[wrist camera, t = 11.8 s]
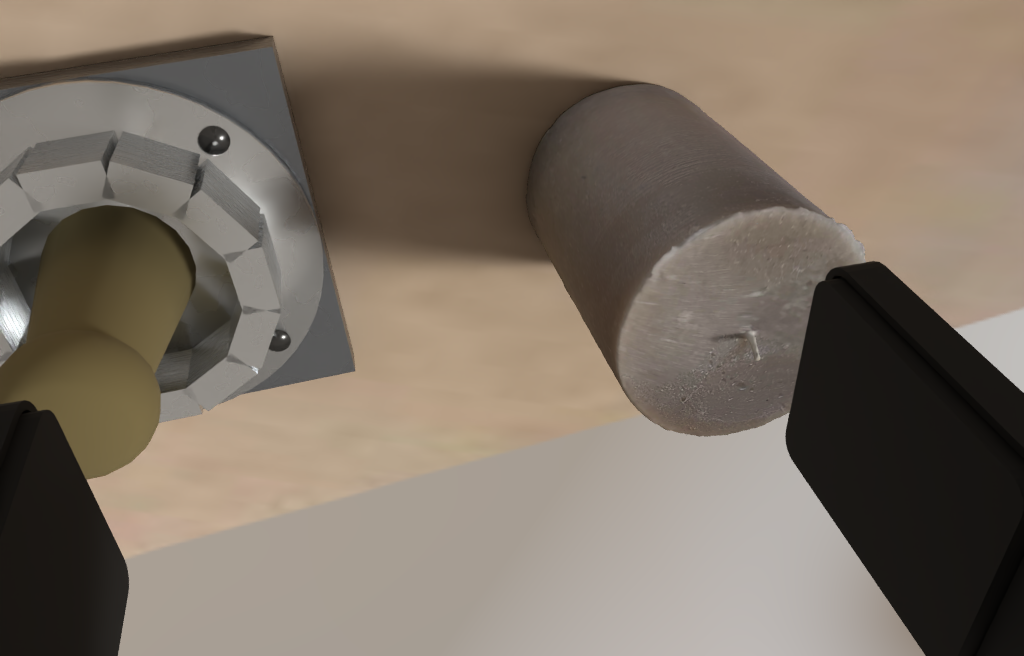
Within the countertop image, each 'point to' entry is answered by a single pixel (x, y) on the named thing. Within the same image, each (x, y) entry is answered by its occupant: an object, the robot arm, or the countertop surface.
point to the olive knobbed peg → (102, 331)
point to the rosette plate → (181, 208)
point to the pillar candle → (682, 256)
